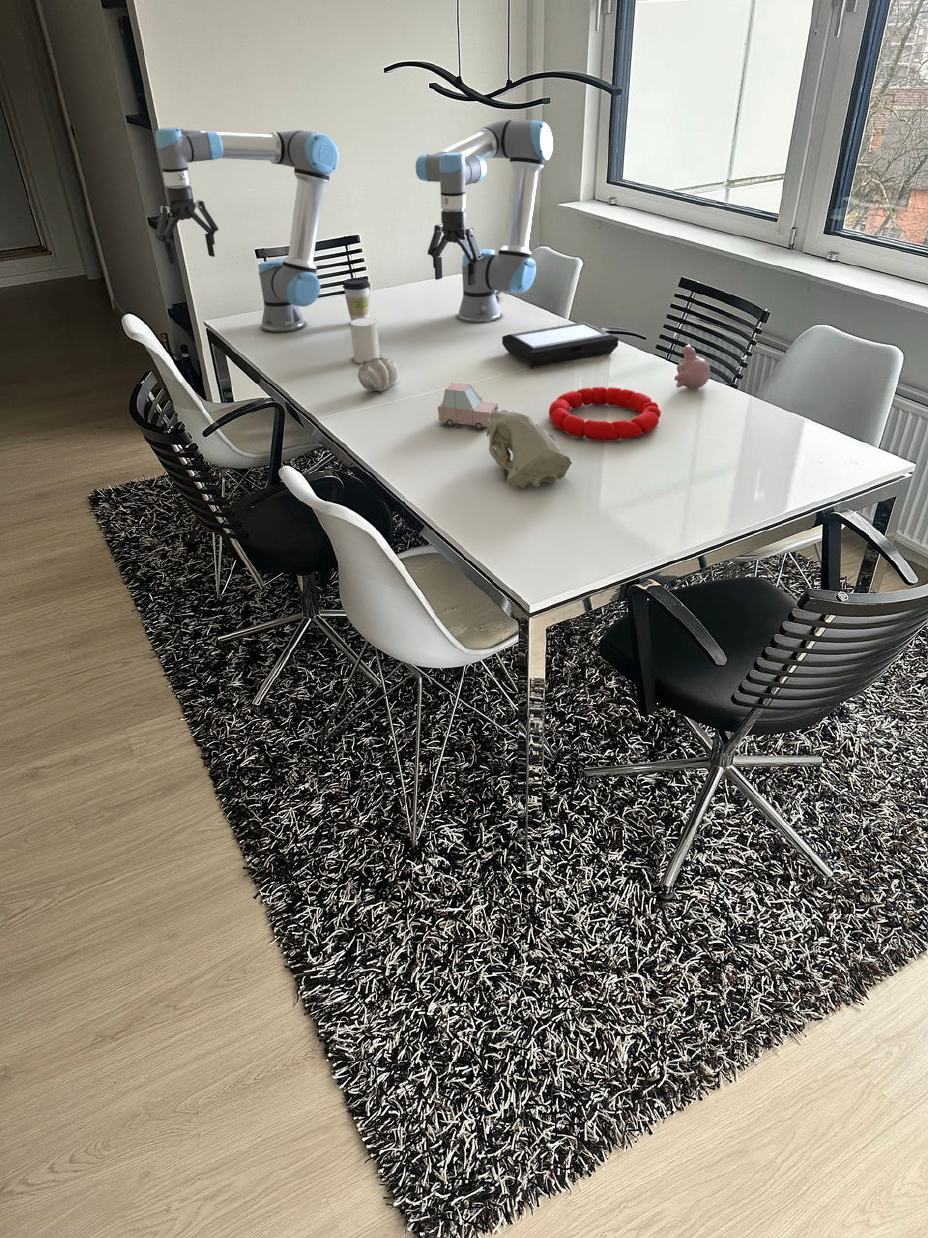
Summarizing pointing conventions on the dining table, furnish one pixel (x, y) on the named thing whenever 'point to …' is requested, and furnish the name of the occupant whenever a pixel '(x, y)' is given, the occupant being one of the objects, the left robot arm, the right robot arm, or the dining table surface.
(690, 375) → the figurine
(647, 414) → the decorative ring
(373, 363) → the seashell
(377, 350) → the canister
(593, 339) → the electronic device
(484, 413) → the toy car
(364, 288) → the coffee cup
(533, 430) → the animal skull
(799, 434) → the dining table surface
